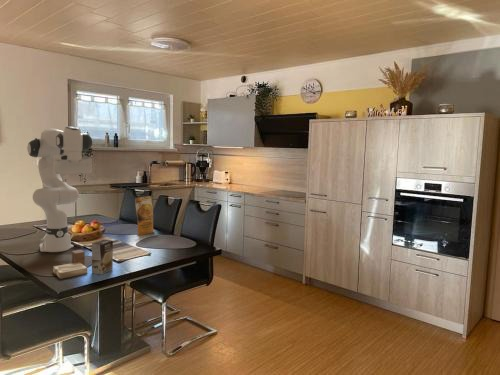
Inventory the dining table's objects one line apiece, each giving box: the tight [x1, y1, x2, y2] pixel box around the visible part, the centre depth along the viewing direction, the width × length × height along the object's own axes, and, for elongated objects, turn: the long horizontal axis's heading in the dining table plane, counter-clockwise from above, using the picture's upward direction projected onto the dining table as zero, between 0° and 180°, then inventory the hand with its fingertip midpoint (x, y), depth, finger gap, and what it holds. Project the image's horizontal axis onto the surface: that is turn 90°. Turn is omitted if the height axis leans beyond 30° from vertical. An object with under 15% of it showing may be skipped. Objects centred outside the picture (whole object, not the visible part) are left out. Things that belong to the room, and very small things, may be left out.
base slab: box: [52, 262, 88, 279], centre depth 193 cm, size 12×13×3 cm
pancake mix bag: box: [134, 195, 154, 236], centre depth 279 cm, size 7×19×28 cm, turn 151°
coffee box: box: [91, 239, 114, 275], centre depth 197 cm, size 9×6×16 cm
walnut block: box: [71, 249, 86, 267], centre depth 204 cm, size 5×5×8 cm
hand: (73, 181), depth 204 cm, fingers open, 8 cm apart
